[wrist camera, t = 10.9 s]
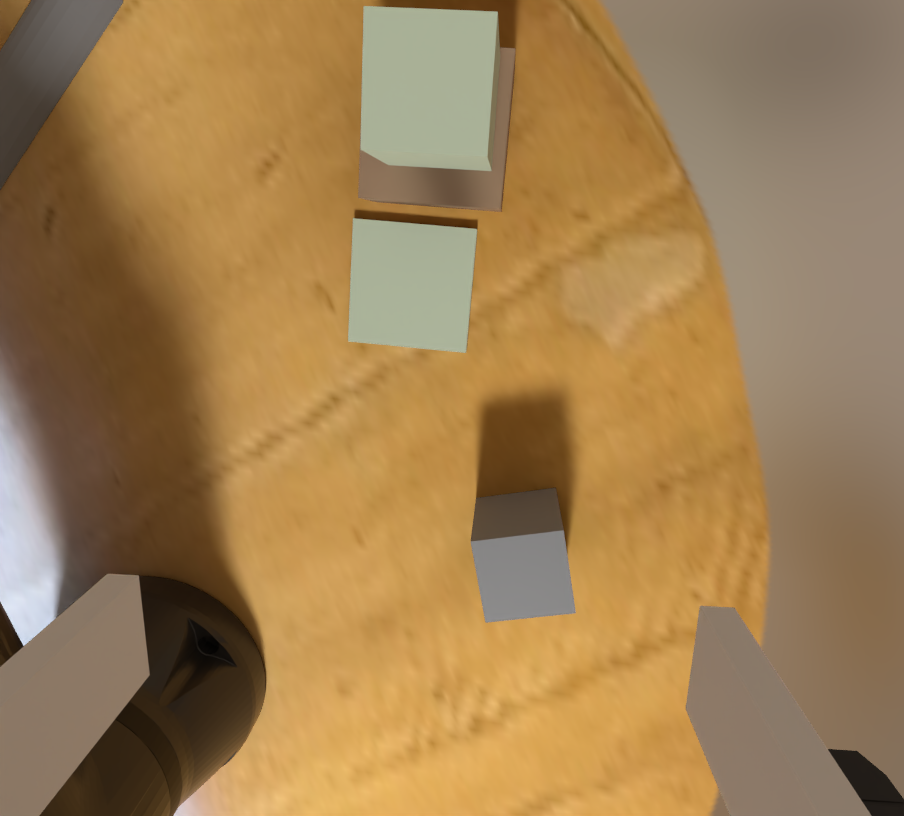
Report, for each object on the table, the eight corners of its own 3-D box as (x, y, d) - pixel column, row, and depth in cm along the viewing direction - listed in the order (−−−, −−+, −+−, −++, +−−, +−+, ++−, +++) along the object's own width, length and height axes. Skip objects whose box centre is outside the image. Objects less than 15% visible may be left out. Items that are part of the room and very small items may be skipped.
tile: (349, 340, 38) (348, 341, 38) (354, 218, 36) (353, 218, 36) (466, 351, 38) (465, 352, 38) (477, 228, 36) (477, 228, 36)
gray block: (489, 568, 42) (485, 622, 36) (476, 497, 40) (470, 541, 35) (566, 559, 41) (575, 613, 35) (555, 487, 40) (563, 530, 34)
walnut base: (378, 202, 36) (358, 197, 32) (384, 66, 34) (363, 38, 30) (501, 211, 36) (500, 208, 31) (514, 74, 34) (515, 48, 29)
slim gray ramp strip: (135, 2, 35) (116, -10, 33) (-41, 268, 40) (-66, 269, 38) (73, -57, 35) (50, -73, 33) (-98, 219, 39) (-126, 218, 38)
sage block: (388, 165, 31) (360, 149, 25) (392, 50, 30) (363, 5, 24) (491, 171, 31) (487, 156, 25) (500, 55, 29) (497, 11, 24)
